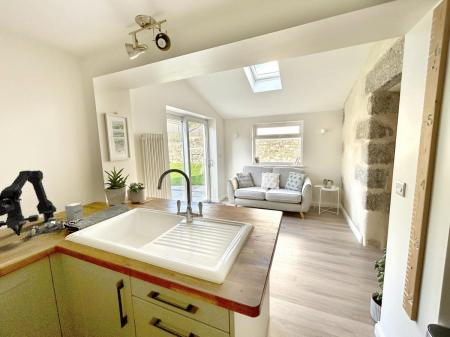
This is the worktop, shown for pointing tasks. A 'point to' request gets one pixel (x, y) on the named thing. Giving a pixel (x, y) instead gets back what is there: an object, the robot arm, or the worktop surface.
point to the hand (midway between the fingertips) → (19, 235)
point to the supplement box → (74, 211)
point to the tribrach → (48, 228)
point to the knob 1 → (34, 229)
